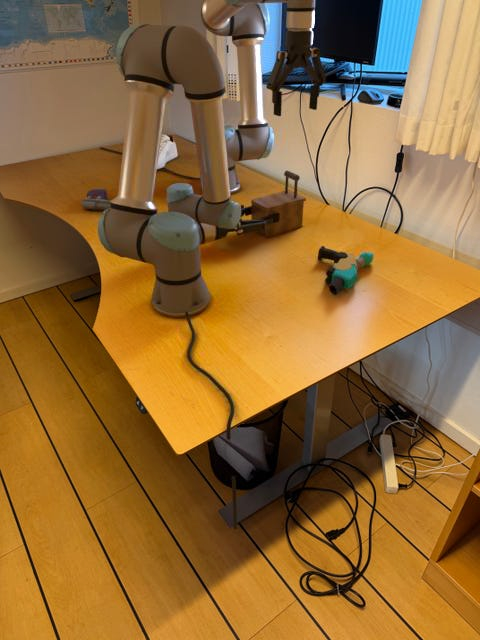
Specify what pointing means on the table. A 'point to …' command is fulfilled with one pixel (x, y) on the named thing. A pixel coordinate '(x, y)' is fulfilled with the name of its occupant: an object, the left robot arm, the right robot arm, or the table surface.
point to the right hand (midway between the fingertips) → (295, 112)
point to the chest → (287, 221)
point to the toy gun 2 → (343, 268)
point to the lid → (281, 196)
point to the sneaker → (166, 150)
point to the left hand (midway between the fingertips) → (269, 212)
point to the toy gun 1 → (96, 200)
